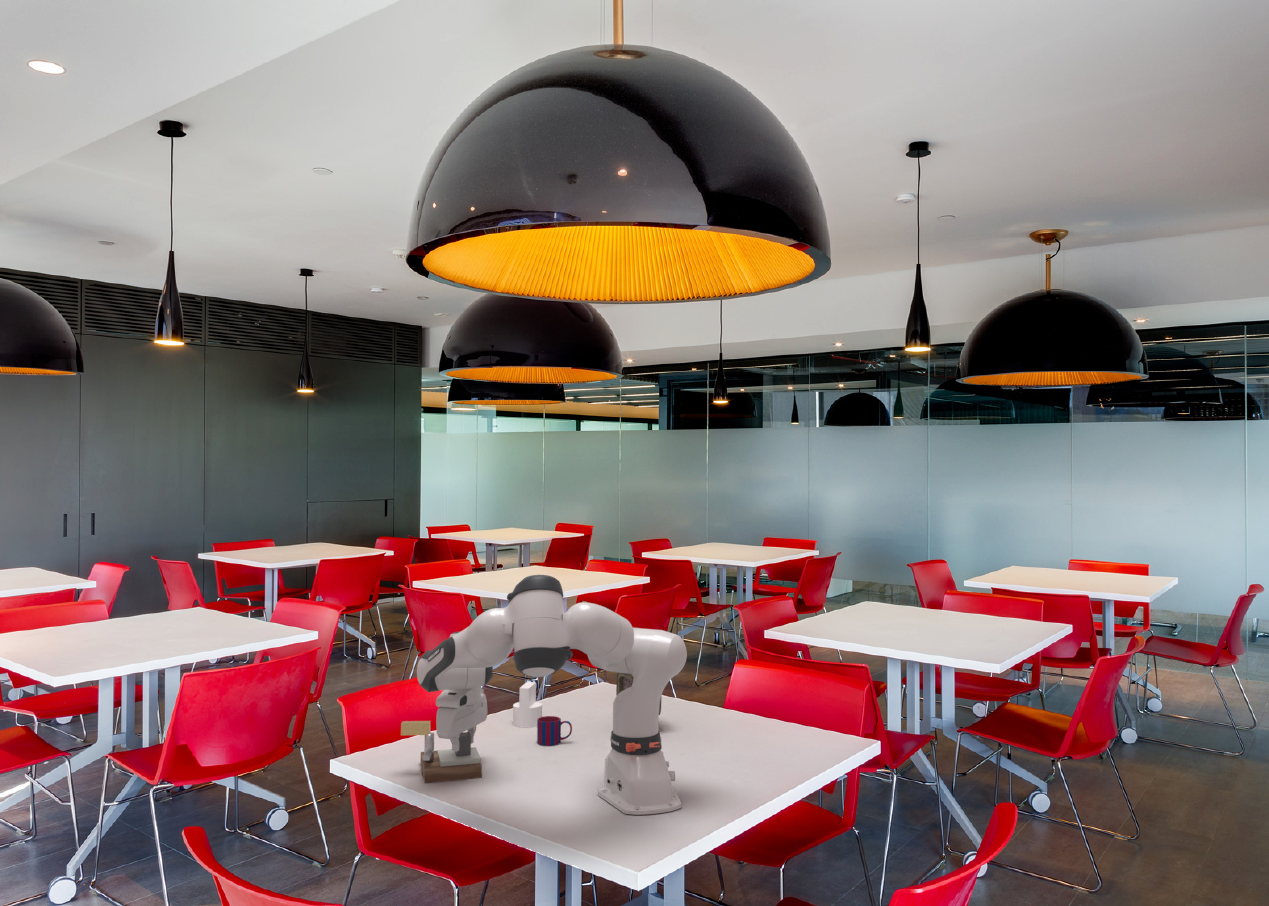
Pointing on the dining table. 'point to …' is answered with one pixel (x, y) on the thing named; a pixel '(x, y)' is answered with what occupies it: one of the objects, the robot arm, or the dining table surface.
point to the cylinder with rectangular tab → (527, 707)
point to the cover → (460, 753)
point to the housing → (448, 771)
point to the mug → (550, 730)
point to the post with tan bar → (421, 729)
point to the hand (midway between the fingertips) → (462, 747)
